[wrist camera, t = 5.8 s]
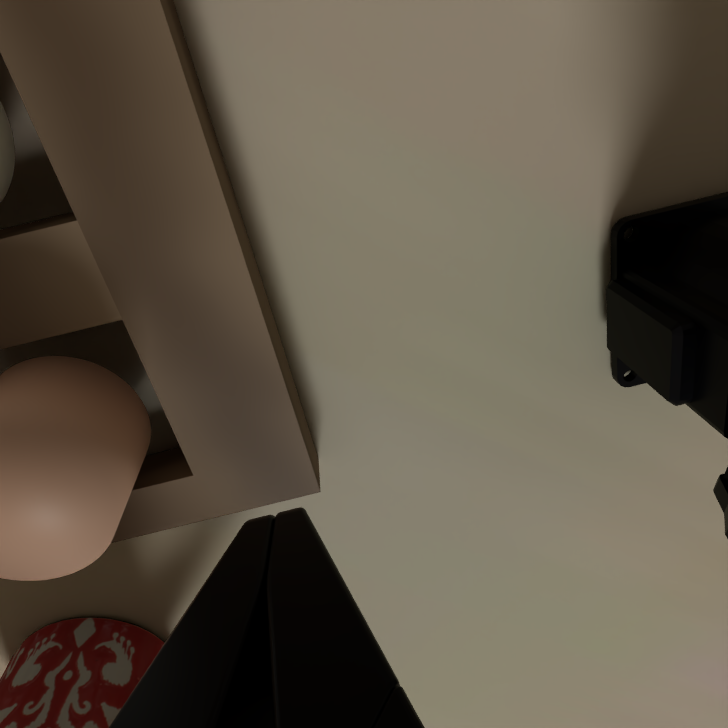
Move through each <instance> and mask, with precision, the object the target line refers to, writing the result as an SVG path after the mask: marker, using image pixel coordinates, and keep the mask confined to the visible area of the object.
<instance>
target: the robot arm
mask: <svg viewBox="0 0 728 728" xmlns="http://www.w3.org/2000/svg"><path fill="white" fill-rule="evenodd" d="M630 227H632V229H633V230H632V234H631V235H630V236H629V237H628V238H626V239H624V233H625V231H626V230H627V229H628V228H630ZM606 300H607V348H608V349H609V350H610V351H611V352H612V376H613V379H614V380H615V381H616V382H617V383H618V384H620V385H621V386H623V387H632V386H636V385H640V384H644V383H648V384H649V385H650V386H651V387H652V388H653V389H654V390H656V391H657V392H658V393H659V394H660V395H661V396H662V397H664V398H665V399H666V400H667V401H669V402H670V403H672V404H673V405H675V406H678V405H682V404H686V405H687V406H689V407H690V408H691V409H692V410H693V411H695V412H696V413H697V414H698V415H699V416H701V417H702V418H703V419H704V420H705V421H706V422H708V423H709V424H710V425H711V426H712V427H714V428H715V429H716V430H717V431H718V432H720V433H721V434H722V435H723V436H724V437H726V438H727V439H728V192H726V193H722V194H718V195H714V196H709V197H705V198H701V199H697V200H693V201H689V202H685V203H681V204H677V205H673V206H669V207H664V208H660V209H656V210H652V211H648V212H644V213H640V214H636V215H632V216H628V217H624V218H622V219H620V220H619V221H617V222H616V223H615V225H614V226H613V228H612V231H611V281H610V283H609V285H608V286H607V289H606ZM629 370H631V372H630V373H629V374H628V375H627V376H625V377H624V374H625V373H626V372H627V371H629ZM713 491H714V494H715V496H716V498H717V500H718V502H719V504H720V506H721V508H722V510H723V512H724V518H725V535H726V537H727V539H728V467H727V469H726V472H725V474H721V475H720V476H719V478H718V480H717V482H716V485H715V487H714V489H713ZM109 728H425V727H424V726H423V724H422V722H421V720H420V719H419V717H418V715H417V714H416V712H415V710H414V708H413V706H412V704H411V702H410V701H409V699H408V697H407V695H406V693H405V691H404V690H403V688H402V687H401V686H400V684H399V681H398V679H397V677H396V676H395V674H394V672H393V670H392V668H391V666H390V665H389V663H388V661H387V659H386V657H385V655H384V654H383V652H382V650H381V648H380V646H379V644H378V643H377V641H376V639H375V637H374V635H373V633H372V631H371V630H370V628H369V626H368V624H367V622H366V620H365V619H364V617H363V615H362V613H361V611H360V609H359V608H358V606H357V604H356V602H355V600H354V598H353V597H352V595H351V593H350V591H349V589H348V587H347V586H346V584H345V582H344V580H343V578H342V576H341V575H340V573H339V571H338V569H337V567H336V565H335V564H334V562H333V560H332V558H331V556H330V554H329V552H328V551H327V549H326V547H325V545H324V543H323V541H322V540H321V538H320V536H319V534H318V532H317V530H316V529H315V527H314V525H313V523H312V521H311V519H310V518H309V516H308V514H307V512H306V510H305V509H304V508H301V507H300V508H295V509H291V510H287V511H283V512H280V513H278V514H277V515H276V517H275V516H273V515H267V516H263V517H259V518H255V519H250V520H248V521H247V522H245V523H244V525H243V526H242V528H241V529H240V531H239V532H238V534H237V535H236V537H235V538H234V540H233V541H232V543H231V544H230V546H229V547H228V549H227V550H226V552H225V553H224V555H223V556H222V558H221V559H220V561H219V562H218V564H217V565H216V567H215V568H214V570H213V571H212V573H211V574H210V576H209V577H208V579H207V580H206V582H205V583H204V585H203V586H202V588H201V589H200V591H199V592H198V594H197V595H196V597H195V598H194V600H193V601H192V603H191V604H190V606H189V607H188V609H187V610H186V612H185V613H184V615H183V616H182V618H181V619H180V621H179V622H178V624H177V625H176V627H175V628H174V630H173V631H172V633H171V634H170V636H169V637H168V639H167V640H166V642H165V643H164V645H163V646H162V648H161V649H160V651H159V652H158V654H157V655H156V657H155V658H154V660H153V661H152V663H151V664H150V666H149V667H148V669H147V670H146V672H145V673H144V675H143V676H142V678H141V679H140V681H139V682H138V684H137V685H136V687H135V688H134V690H133V691H132V693H131V694H130V696H129V698H128V699H127V701H126V702H125V704H124V705H123V707H122V708H121V710H120V711H119V713H118V714H117V716H116V717H115V719H114V720H113V722H112V723H111V725H110V726H109Z"/></svg>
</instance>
